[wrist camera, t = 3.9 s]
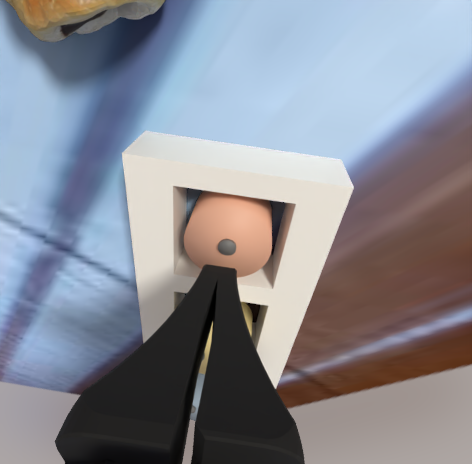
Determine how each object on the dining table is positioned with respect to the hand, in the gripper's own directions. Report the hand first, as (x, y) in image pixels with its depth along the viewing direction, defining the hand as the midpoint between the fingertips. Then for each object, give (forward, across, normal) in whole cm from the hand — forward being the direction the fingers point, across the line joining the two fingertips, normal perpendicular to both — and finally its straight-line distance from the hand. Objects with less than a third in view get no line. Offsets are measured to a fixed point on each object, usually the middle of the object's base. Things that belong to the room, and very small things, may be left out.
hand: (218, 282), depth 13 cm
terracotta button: (+5, 0, 0) cm, 6 cm away
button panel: (+6, 0, +7) cm, 9 cm away
